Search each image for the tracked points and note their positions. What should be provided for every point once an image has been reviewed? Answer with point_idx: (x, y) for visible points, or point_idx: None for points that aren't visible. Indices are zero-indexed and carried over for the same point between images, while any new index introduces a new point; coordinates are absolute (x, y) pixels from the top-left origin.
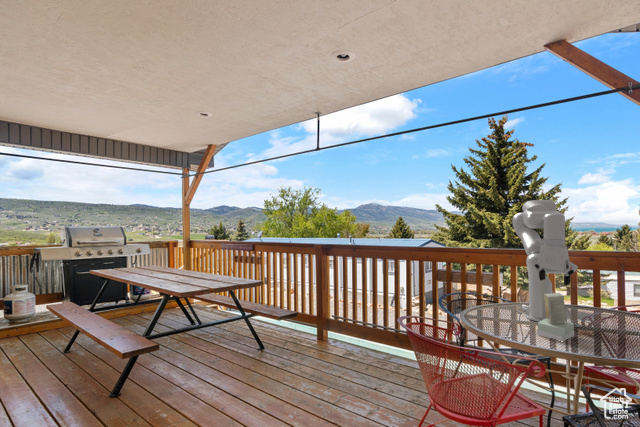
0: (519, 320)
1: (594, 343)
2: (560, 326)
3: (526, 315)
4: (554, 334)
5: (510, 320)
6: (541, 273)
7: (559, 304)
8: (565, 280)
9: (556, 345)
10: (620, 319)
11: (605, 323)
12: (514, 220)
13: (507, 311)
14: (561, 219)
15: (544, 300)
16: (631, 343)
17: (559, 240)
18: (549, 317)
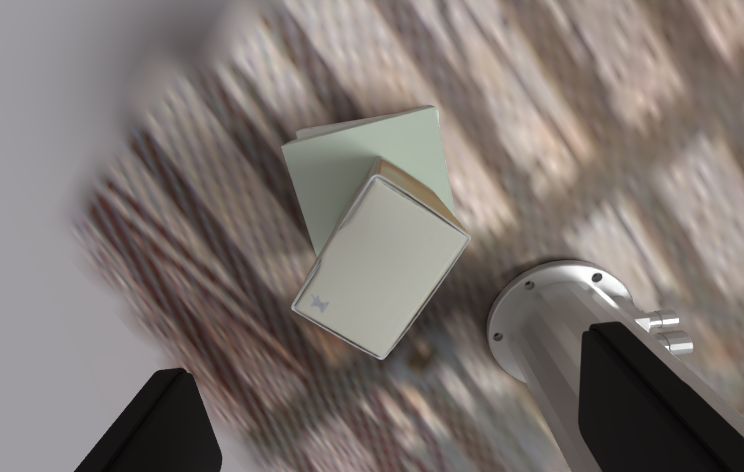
0: (609, 205)
1: (234, 247)
2: (324, 174)
3: (612, 275)
4: (336, 125)
5: (645, 161)
6: (686, 445)
7: (327, 241)
8: (106, 437)
9: (287, 64)
10: None
11: (358, 465)
12: None
13: (730, 267)
14: None
15: (567, 375)
16: (183, 363)
17: None
18: (380, 158)
